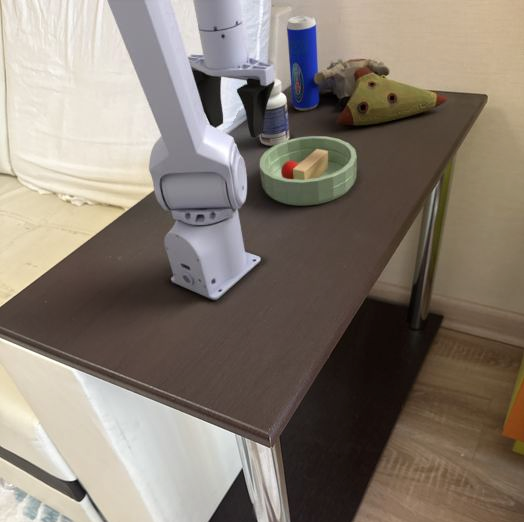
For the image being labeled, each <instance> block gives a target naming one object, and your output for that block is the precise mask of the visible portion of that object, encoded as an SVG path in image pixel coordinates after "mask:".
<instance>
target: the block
mask: <svg viewBox="0 0 524 522" xmlns="http://www.w3.org/2000/svg"><path fill="white" fill-rule="evenodd" d="M327 170H328V151H325V150H320V149H316V150H315V151H314V152H313V153H312V154H310V155H309V156H308V157H307V158H306V159H304V160H303V161H302V162H301V163H300V164H298V165H297V166H296V167H295V168H294V169H293V177H294V179H297V180H304V179H314V178H319V177H320V176H321V175H322V174H323V173H324V172H325V171H327Z"/></svg>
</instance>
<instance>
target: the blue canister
mask: <svg viewBox="0 0 524 522" xmlns="http://www.w3.org/2000/svg"><path fill="white" fill-rule="evenodd" d="M286 33H287V34H286V35H287V46H288V47H287V49H288V60H289V73H290V85H291V99H292V106H293V107H294V109H296V110H298V111H302V112H303V111H304V112H305V111H311V110H314V109H315V108H317V106H318V105H319V104H320V93H319V87H318V84H316V83H315V81H314V76H315V74H316V73H318V72H319V67H318V66H319V65H318V63H319V62H318V41H317V23H316V20H315V17H314V15H310V14H301V15H296V16H293V17H290V18H288V20H287V25H286Z"/></svg>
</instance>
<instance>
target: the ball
mask: <svg viewBox="0 0 524 522" xmlns="http://www.w3.org/2000/svg"><path fill="white" fill-rule="evenodd" d="M297 165H298V163H296V162H294V161H288V162H286V163H285V164H284V165H283V166H282V169H281V173H282V176H283V178H287V179H294V177H293V169H294V168H295V167H296V166H297Z"/></svg>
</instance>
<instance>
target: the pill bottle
mask: <svg viewBox="0 0 524 522" xmlns="http://www.w3.org/2000/svg"><path fill="white" fill-rule="evenodd" d="M282 90H283V89H282V81H281V80H280V79H278V78H275V84H274V87H273V89H272V91H271V94H270V97H269V100H268V104H267V108H266V113H265V119H264V128H263V133H261V134H260V135H258V137H259V141H260V143H261V144H263V145H265V146H270V147H273V146H275V145H277V144H279V143H282V142H284V141H287V140H290V126H289V125H290V124H289V123H290V122H289V113H288V101H287V96H286V94H284V93H283V92H282Z"/></svg>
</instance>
